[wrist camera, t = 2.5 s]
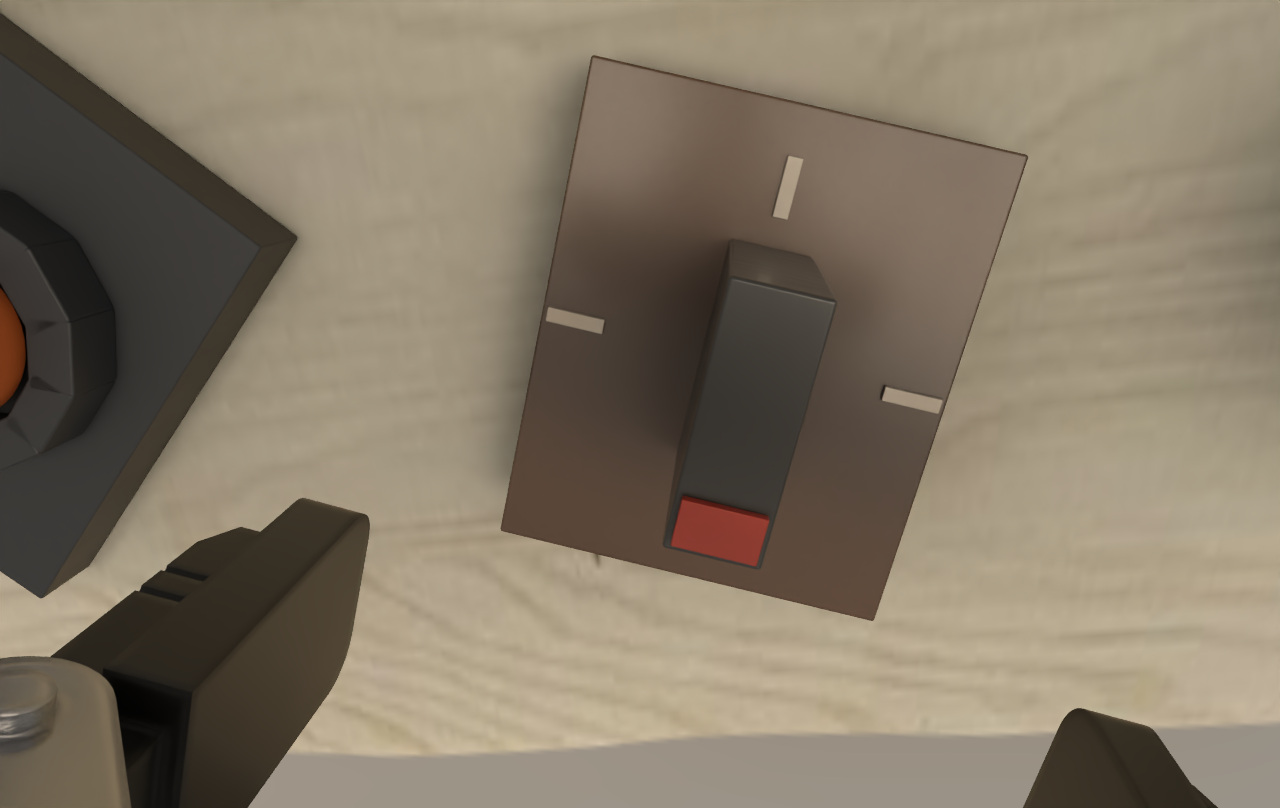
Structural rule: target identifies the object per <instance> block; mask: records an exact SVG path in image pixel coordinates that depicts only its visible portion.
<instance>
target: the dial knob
mask: <svg viewBox="0 0 1280 808" xmlns="http://www.w3.org/2000/svg"><path fill="white" fill-rule="evenodd" d="M836 308H837V300H836V298H835V296H834V295H833V293H832V291H831V289H830V288H829V286H828V284H827V282H826V281H825V279H824V277H823V275H822V274H821V272H820V270H819V268H818V267H817V265H816V263H815V261H814V260H813V259H812V258H811V257H808V256H803V255H799V254H795V253H790V252H786V251H782V250H778V249H773V248H769V247H765V246H761V245H756V244H752V243H748V242H743V241H739V240H735V239H732V240H730V241H729V245H728V249H727V253H726V257H725V261H724V265H723V269H722V273H721V277H720V281H719V285H718V289H717V293H716V297H715V301H714V305H713V309H712V314H711V318H710V322H709V326H708V330H707V334H706V338H705V342H704V346H703V350H702V354H701V358H700V362H699V366H698V370H697V374H696V378H695V382H694V386H693V390H692V394H691V398H690V403H689V407H688V411H687V415H686V419H685V423H684V427H683V431H682V435H681V439H680V443H679V447H678V451H677V457H676V463H675V469H674V475H673V481H672V487H671V493H670V499H669V505H668V511H667V518H666V524H665V530H664V536H663V542H662V543H663V546H664V547H665V548H669V549H673V550H677V551H681V552H686V553H690V554H694V555H698V556H702V557H706V558H710V559H714V560H719V561H723V562H727V563H731V564H735V565H739V566H743V567H747V568H752V569H756V570H760V569H761V568H762V565H763V562H764V558H765V555H766V551H767V548H768V544H769V541H770V537H771V534H772V531H773V527H774V524H775V520H776V517H777V513H778V510H779V506H780V503H781V499H782V496H783V492H784V489H785V485H786V482H787V478H788V475H789V471H790V468H791V464H792V461H793V457H794V454H795V450H796V447H797V443H798V440H799V437H800V433H801V430H802V426H803V423H804V419H805V416H806V412H807V409H808V405H809V402H810V398H811V395H812V391H813V388H814V384H815V381H816V377H817V374H818V370H819V367H820V363H821V360H822V356H823V353H824V350H825V346H826V343H827V339H828V336H829V332H830V329H831V325H832V322H833V318H834V315H835V311H836Z"/></svg>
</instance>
